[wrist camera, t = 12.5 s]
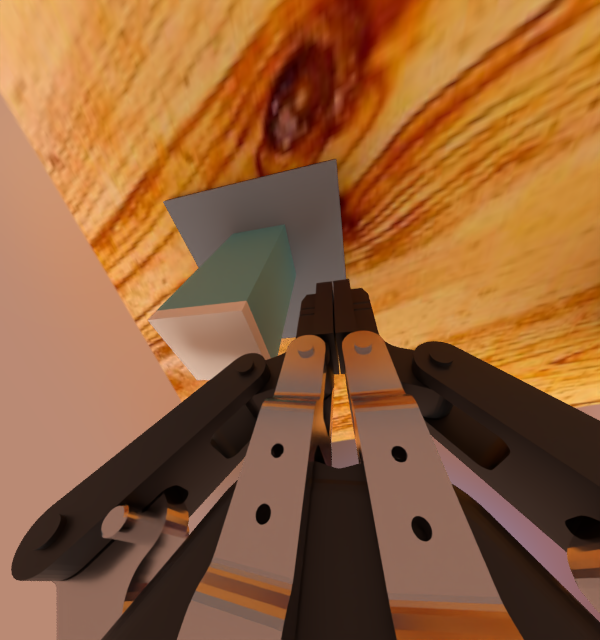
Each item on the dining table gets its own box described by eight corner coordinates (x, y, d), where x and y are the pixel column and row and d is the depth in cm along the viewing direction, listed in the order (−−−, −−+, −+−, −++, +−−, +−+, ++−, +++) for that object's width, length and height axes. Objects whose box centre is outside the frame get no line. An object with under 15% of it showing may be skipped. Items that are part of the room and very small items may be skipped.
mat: (335, 158, 13) (336, 159, 13) (349, 328, 22) (350, 332, 21) (167, 199, 16) (163, 201, 15) (240, 337, 24) (238, 341, 24)
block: (284, 224, 15) (241, 310, 8) (296, 274, 18) (272, 377, 10) (232, 233, 16) (147, 320, 8) (250, 280, 19) (197, 380, 11)
